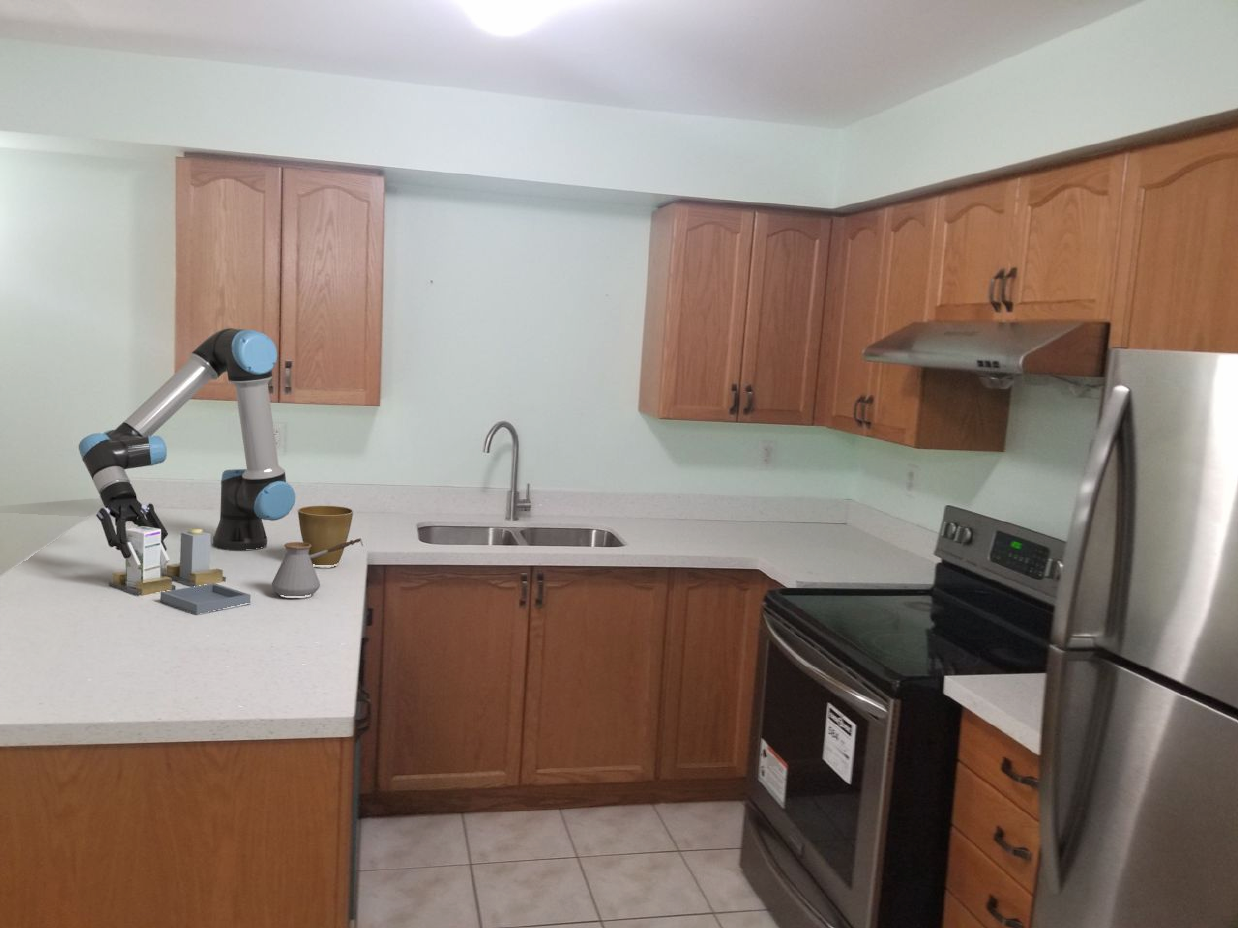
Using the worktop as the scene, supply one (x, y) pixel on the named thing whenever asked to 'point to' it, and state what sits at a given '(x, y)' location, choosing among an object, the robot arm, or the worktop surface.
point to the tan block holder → (142, 584)
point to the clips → (194, 576)
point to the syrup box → (144, 554)
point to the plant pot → (325, 530)
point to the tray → (204, 598)
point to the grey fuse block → (194, 552)
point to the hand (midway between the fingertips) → (151, 565)
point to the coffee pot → (300, 569)
